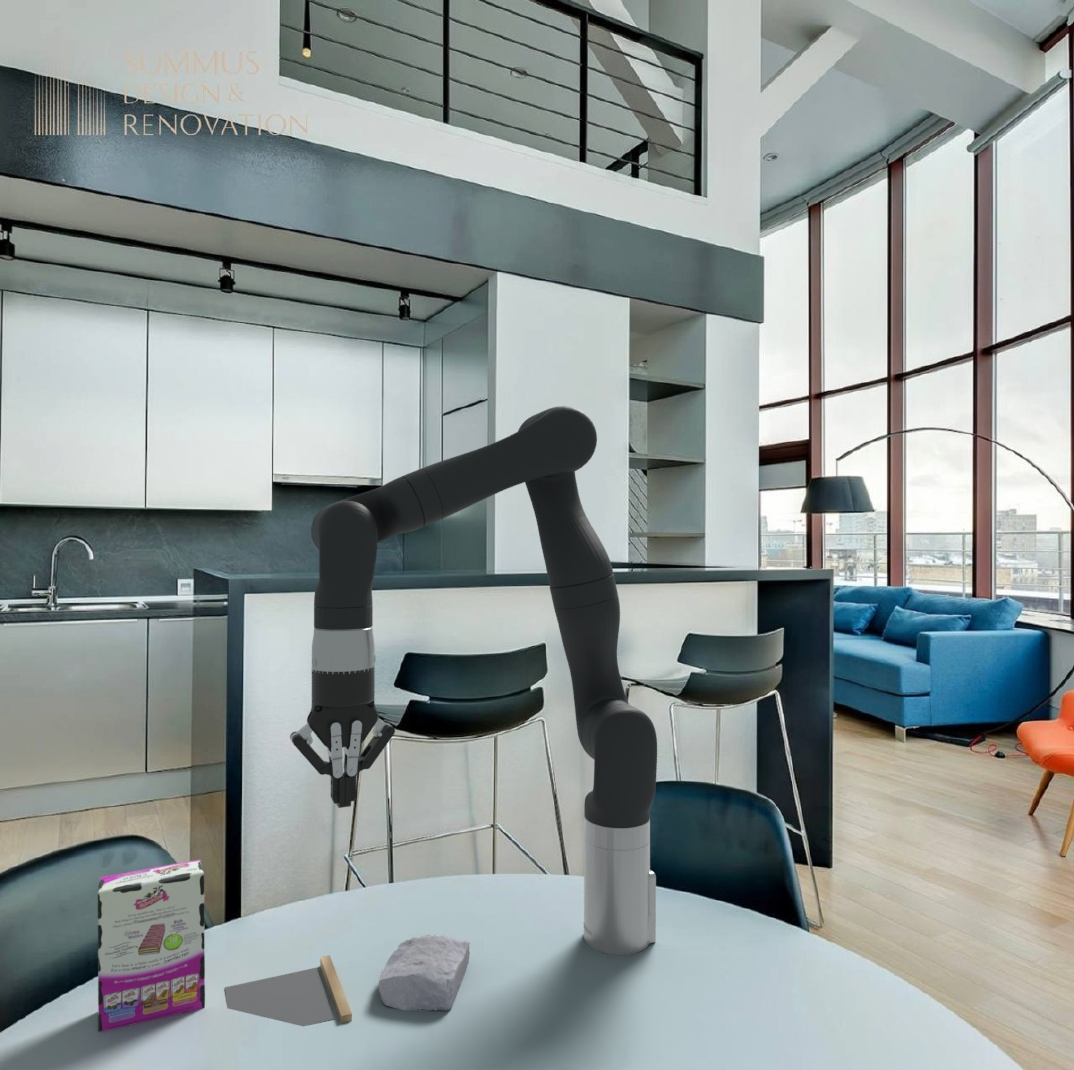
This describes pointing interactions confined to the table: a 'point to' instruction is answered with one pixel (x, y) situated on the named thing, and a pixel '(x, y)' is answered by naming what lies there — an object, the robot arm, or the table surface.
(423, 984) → the stone block
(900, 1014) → the table surface
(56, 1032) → the table surface
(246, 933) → the table surface
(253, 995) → the mat
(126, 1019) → the candy bar box
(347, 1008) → the strip
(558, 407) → the robot arm
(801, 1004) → the table surface
